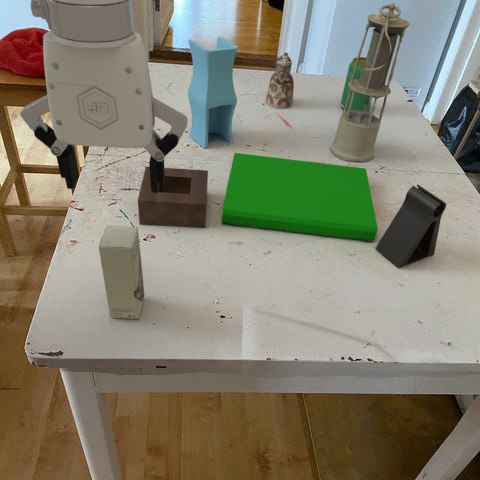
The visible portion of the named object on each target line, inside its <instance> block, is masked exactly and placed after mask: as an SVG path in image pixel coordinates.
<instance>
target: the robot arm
mask: <svg viewBox="0 0 480 480" xmlns="http://www.w3.org/2000/svg"><path fill="white" fill-rule="evenodd" d="M30 11H31V13H32V16H33V17H34V18H41V19H42V20H45V21H46V24H47V28H48V31H47V32H45V33H44V34H43V36H42V38H43V39H42V44H43V45H42V49H43V51H42V53H43V66H44V67H43V68H44V77H45V78H44V79H45V86H46V93H47V94H46V95H44V96H42V97H39V98H38V99H36V100H34V101H32V102H30V103H28V104H26V105H25V106H24V107H22V110H20V113H19V115H20V118H21V119H22V120H23V121H24V123H25V124H26V125H27V126H28V128H29V129H30V130H32V132H33V134H34V137H35V138H36V139H37V140H38V141H40V143H42V144H43V145H44V146H46V147H47V148H48V149H50V150H49V151H50V153H51V155H53V156H54V157H56V161H57V166H58V171H59V174H60V178H61V179H64V180H65V185H66V189H68V190H73V189H74V188H75V187H76V185H77V182H78V180H79V178H80V173H79V168H78V167H79V166H78V163H77V156H76V153H75V147H74V146H79V147H95V148H96V147H97V148H98V147H99V148H100V147H101V148H114V149H115V148H116V149H141V148H143V149H144V150H145V151H146V152H147V153H148V154H149V155H150V157H149V163H148V167H150V180H151V192H153V193H158V189H159V184H160V183H164V181H165V168H166V167H165V157H166V156H168V155H169V153H170V152H172V151H173V150H174V149H175V148H176V147H177V146H178V144H179V142H180V139H182V137H183V134H184V132H185V130H186V129H187V126H188V121H189V117H187V115H186V114H183V113H182V112H180V111H178V110H177V109H175V108H173V107H172V106H170V105H168V104H166V103H164V102H162V101H161V100H159V99H157V98H155V97H154V96H153V94H154V93H153V87H152V81H151V75H150V68H149V63H148V57H147V54H146V49H145V44H144V41H143V38H142V35H141V34H140V33H139V32H138V31H135V23H134V22H135V21H134V11H133V0H30ZM47 113H49V114H50V120H51V125H52V126H50V125H49V124H47V123H46V122H44V120H43V117H42V116H43V115H45V114H47ZM156 118H158V119H159V120H161V121H163V122H164V123H166V124H168V125H169V126H170V129H169V131H168V132H167V133H166V134H165V135H164V136H163V137H161V136H160V134H159V133H158V132H157V131H156V129H154V127H155V123H156Z"/></svg>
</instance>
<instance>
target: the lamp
mask: <svg viewBox="0 0 480 480" xmlns="http://www.w3.org/2000/svg"><path fill="white" fill-rule="evenodd" d="M387 9H388V10H387ZM384 10H387V12H385V11H384ZM394 11H396V12H397V14H395V12H394ZM401 15H402V10H401V9H400V7H399V6H397V5H396V4H395V3H390V4H385V5H382V6H380V8H379V13H375V14H369V15H367V24H366V26H365V32H364V35H363V39H362V42H361V45H360V47H359V50H358V53H357V56H356V57H357V60H356V63H355V68H354V71H353V76H352V78H351V81H350V82H349V83H348V86H349V88H350V91H349V95H348V98H347V102H346V106H345V109H344V110H343V111H342V113H341V114H340V116H339V121H338V125H337V128H336V132H335V134H334V139H333V142H332V143H331V144H330V146H329V149H330V151H331V154H333V155H334V156H335V157H337V158H339V159H340V160H343V161H349V162H367V161H368V162H369V161H371V160H372V159H373V158H374V155H375V151H374V148H375V144H376V142H377V138H378V134H379V130H380V127H381V123H382V118H383V114H384V111H385V106H386V102H387V98H388V96H389V95H390V94H391V93H392V90H391V88H390V83H391V81H392V79H393V76H394V72H395V67H396V65H397V58H398V53H399V50H400V47H401V44H402V42H403V38H404V35H405V32H406V29H407V28H409V27H410V25H411V24H410V22H409V21H408V20H406V19H404V18H401ZM370 28H373V29H372V35H371V40H370V43H369V45H368V46H369V47H368V50H367V54H366V56H365V57H366V61H365V65H364V67H363V70H362V73H361V76H360V79H359V80H353V79H354V76H355V72H356V68H357V65H358V61H359V58H360V57H361V55H362V51H363V48H364V45H365V41H366V38H367V35H368V31H369V29H370ZM353 42H355V40H353ZM397 42H398V44H397ZM396 46H397V48H396ZM395 50H396V51H395ZM394 53H395V56H394ZM393 57H394V59H393ZM392 60H393V61H392ZM391 64H392V65H391ZM390 67H391V68H390ZM389 70H390V73H389ZM388 74H389V76H388ZM387 78H388V79H387ZM386 81H387V84H386ZM352 91H353V95H352V99H351V102H350V105H349V109H348V111H347V107H348V104H349V100H350V96H351V92H352ZM354 93H359V94H361V95H368V98H367V102H366V106H365V110H364V111H355V110H351V106H352V102H353V96H354ZM370 96H371V97H372V99H373V98H374V99H373V104H372V109H371V111H370V110H367V111H366V109H367V106H368V103H369V99H370ZM380 98H383V101H382V106H381V109H380V113H379V116H376V115H374V112H375V109H376V107H375V106H376V103H377V100H378V99H380Z"/></svg>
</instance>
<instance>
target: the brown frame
mask: <svg viewBox="0 0 480 480" xmlns="http://www.w3.org/2000/svg"><path fill="white" fill-rule="evenodd" d="M164 168H165V181H164V183H160V184H159V189H158V193H153V192H151V180H150V167H149V166H145V169H144V172H143V176H142V181H141V185H140V189H139V193H138V197H137V208H138V209H137V210H138V218H139V219H138V220H139V225H141V226H142V225H143V226H144V225H145V226H163V227H164V226H165V227H179V228H180V227H182V228H199V229H205V228H206V226H207V225H206V224H207V205H208V186H209V185H208V184H209V183H208V182H209V170H208V169H207V170H206V169H205V170H204V169H191V168H190V169H189V168H175V167H174V168H173V167H164Z"/></svg>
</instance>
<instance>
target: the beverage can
mask: <svg viewBox="0 0 480 480" xmlns="http://www.w3.org/2000/svg"><path fill="white" fill-rule="evenodd" d="M366 57H367V56H365V57H364V56H360V58H359V61H358V65H357V68H356V72H355V76H354V79H353V80H359V79H360V76H361V73H362V70H363V67H364V65H365V61H366ZM356 60H357V56H356V57H353V58H352V61H350V63H349V65H348V68H347V75H346V78H345V82H344V85H343V91H342V95H341V99H340V106H341V110H343V111H344V109H345V106H346V102H347V98H348V95H349V91H350V88H349V86H348V83H349V82H350V81H351V78H352V76H353V71H354V68H355V63H356ZM352 95H353V91H352V92H351V96H350V100H349V104H348V107H347V111H348V109H349V105H350V102H351V99H352ZM367 98H368V95H361V94H359V93H354V96H353V102H352V106H351V110H355V111H364V110H365V106H366V102H367ZM372 101H373V97H371V96H370V99H369V103H368V106H367V109H366V111H369V109H370V108H371V104H372ZM341 104H342V105H343V106H344V107H343V106H342V105H341Z"/></svg>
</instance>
